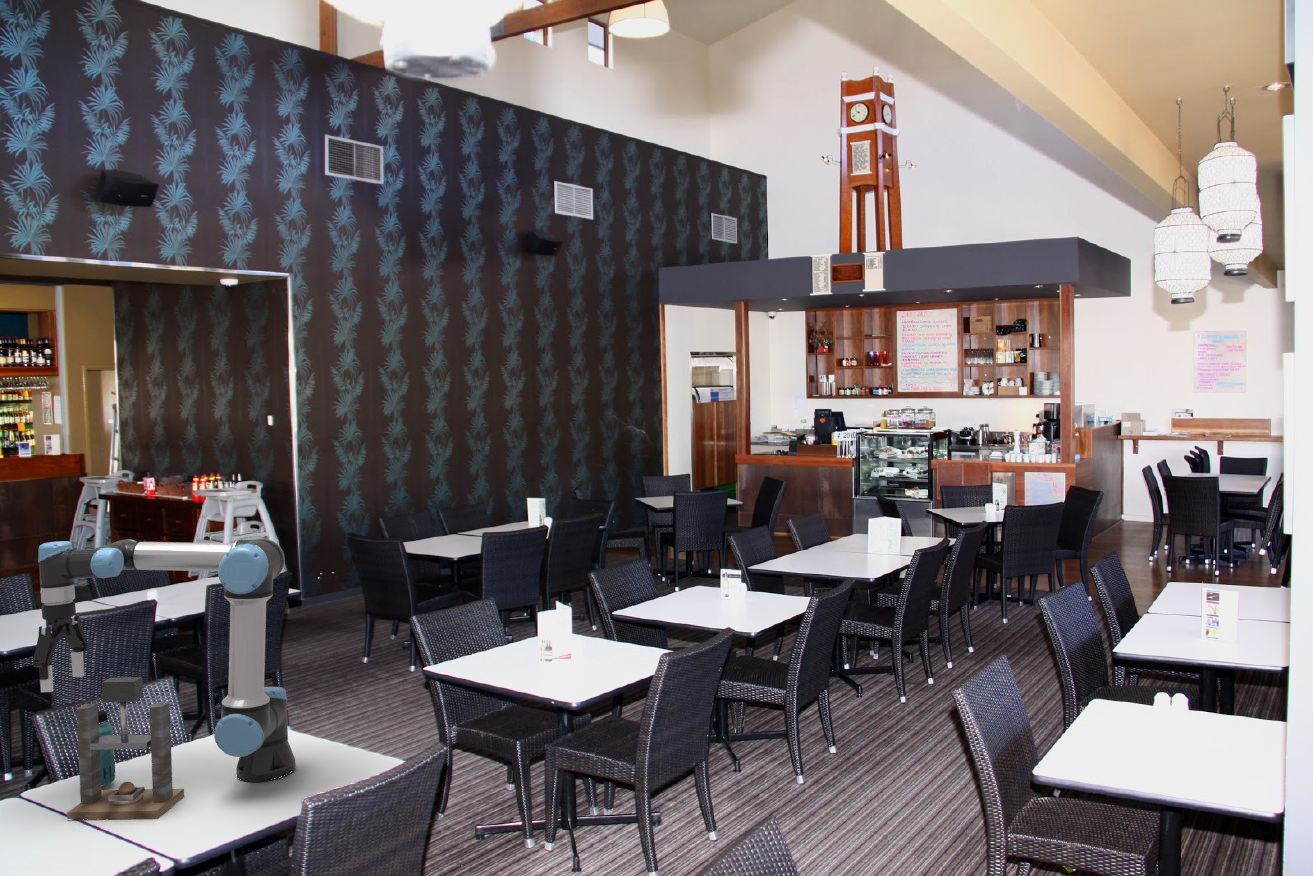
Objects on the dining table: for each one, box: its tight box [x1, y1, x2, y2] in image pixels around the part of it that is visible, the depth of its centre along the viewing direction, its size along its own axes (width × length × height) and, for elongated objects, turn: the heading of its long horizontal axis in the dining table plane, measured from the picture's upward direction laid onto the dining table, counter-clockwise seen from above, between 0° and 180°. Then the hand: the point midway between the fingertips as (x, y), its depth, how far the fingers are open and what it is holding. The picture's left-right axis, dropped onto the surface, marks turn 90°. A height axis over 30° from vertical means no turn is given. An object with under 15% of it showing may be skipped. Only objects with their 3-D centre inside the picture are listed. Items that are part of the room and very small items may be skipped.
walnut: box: [118, 781, 136, 795], centre depth 254 cm, size 4×4×4 cm
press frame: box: [66, 701, 185, 821], centre depth 253 cm, size 22×14×26 cm, turn 90°
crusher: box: [90, 676, 151, 750], centre depth 253 cm, size 14×6×16 cm, turn 90°
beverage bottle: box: [98, 711, 116, 787], centre depth 267 cm, size 6×7×20 cm
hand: (63, 684), depth 261 cm, fingers open, 13 cm apart
